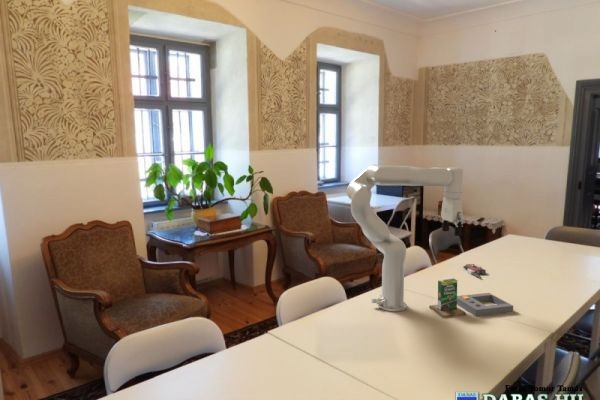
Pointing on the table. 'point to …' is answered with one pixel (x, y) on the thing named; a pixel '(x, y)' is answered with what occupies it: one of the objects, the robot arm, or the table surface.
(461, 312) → the walnut pad
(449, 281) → the coffee box
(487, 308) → the toy stove front
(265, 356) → the table surface
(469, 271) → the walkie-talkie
